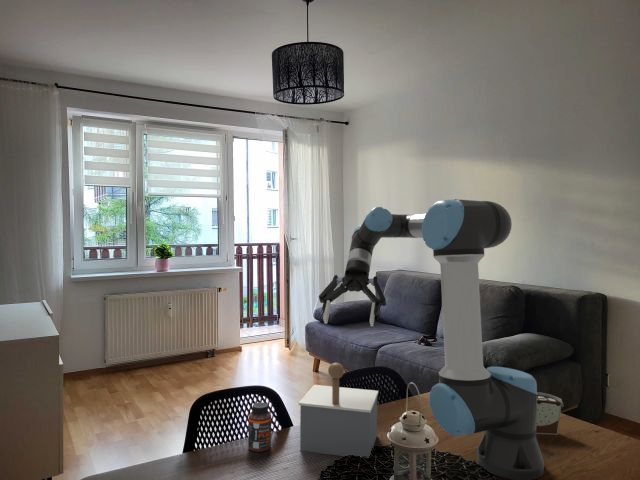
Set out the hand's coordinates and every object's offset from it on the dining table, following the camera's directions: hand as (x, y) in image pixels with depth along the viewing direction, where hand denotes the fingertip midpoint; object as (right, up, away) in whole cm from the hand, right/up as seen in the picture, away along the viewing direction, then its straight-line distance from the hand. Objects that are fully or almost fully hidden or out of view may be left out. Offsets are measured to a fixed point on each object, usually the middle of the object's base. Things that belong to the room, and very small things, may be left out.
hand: (347, 322), depth 133 cm
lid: (-3, -19, -9) cm, 21 cm away
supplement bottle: (-24, -31, -11) cm, 41 cm away
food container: (+55, -31, +1) cm, 63 cm away
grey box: (-3, -31, -9) cm, 32 cm away
